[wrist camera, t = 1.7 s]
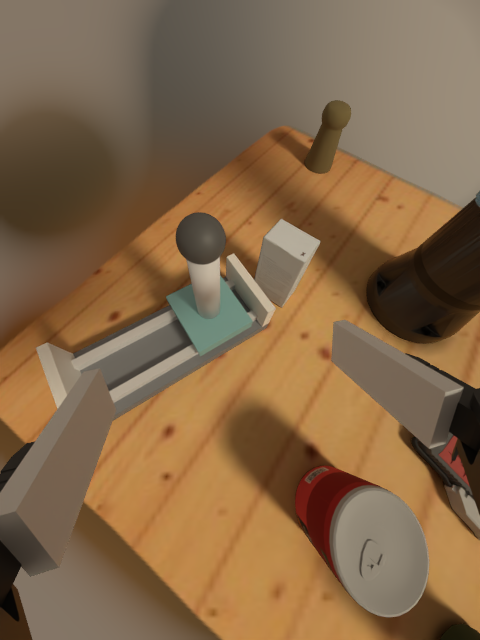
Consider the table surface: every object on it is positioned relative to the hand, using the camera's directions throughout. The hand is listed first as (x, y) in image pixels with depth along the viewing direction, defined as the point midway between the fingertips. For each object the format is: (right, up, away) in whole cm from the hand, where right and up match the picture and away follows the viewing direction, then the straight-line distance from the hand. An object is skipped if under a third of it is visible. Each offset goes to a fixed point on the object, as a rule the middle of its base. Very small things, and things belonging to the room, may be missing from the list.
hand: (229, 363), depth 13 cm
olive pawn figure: (+18, +37, +40) cm, 58 cm away
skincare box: (+6, +8, +26) cm, 28 cm away
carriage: (-4, +3, +20) cm, 20 cm away
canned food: (+11, -19, +15) cm, 27 cm away
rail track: (-9, -1, +21) cm, 23 cm away
